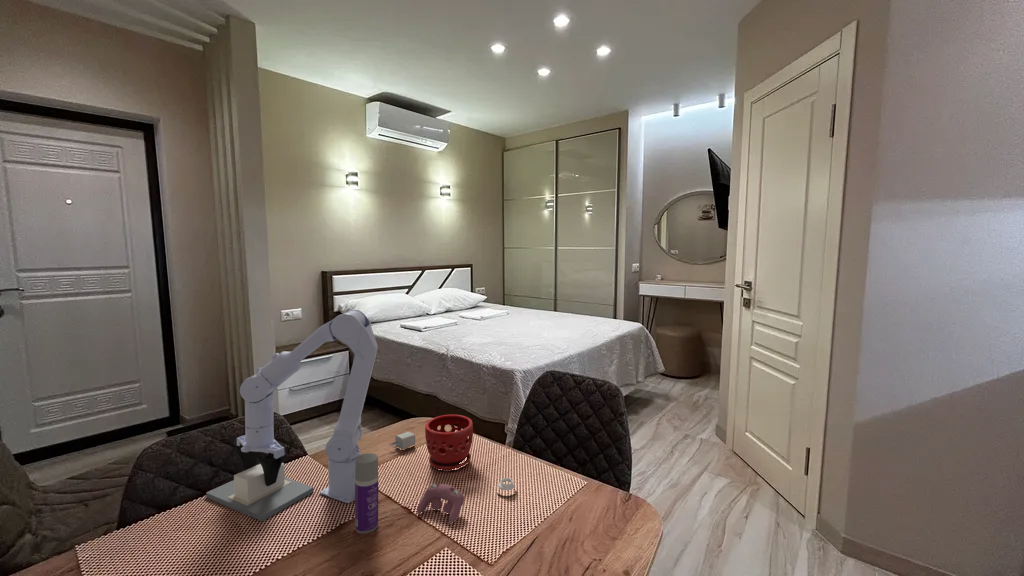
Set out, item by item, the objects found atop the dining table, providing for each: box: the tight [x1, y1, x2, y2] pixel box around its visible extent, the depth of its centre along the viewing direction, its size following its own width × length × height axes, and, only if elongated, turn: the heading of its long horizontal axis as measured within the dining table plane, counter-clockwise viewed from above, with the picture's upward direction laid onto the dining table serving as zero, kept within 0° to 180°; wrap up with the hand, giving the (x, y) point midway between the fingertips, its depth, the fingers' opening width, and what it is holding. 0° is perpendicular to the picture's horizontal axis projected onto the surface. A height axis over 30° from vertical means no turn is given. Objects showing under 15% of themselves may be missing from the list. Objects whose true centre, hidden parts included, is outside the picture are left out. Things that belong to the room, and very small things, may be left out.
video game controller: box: [416, 483, 465, 524], centre depth 94 cm, size 10×5×7 cm, turn 66°
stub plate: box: [205, 476, 314, 522], centre depth 99 cm, size 20×13×3 cm, turn 65°
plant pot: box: [424, 414, 474, 470], centre depth 116 cm, size 13×13×12 cm
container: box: [354, 452, 379, 534], centre depth 88 cm, size 5×5×15 cm
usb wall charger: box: [389, 431, 416, 450], centre depth 125 cm, size 4×7×4 cm, turn 137°
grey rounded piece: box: [497, 477, 516, 491], centre depth 103 cm, size 5×3×5 cm
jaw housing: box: [233, 462, 286, 502], centre depth 99 cm, size 5×9×5 cm, turn 155°
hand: (260, 480), depth 99 cm, fingers open, 7 cm apart
